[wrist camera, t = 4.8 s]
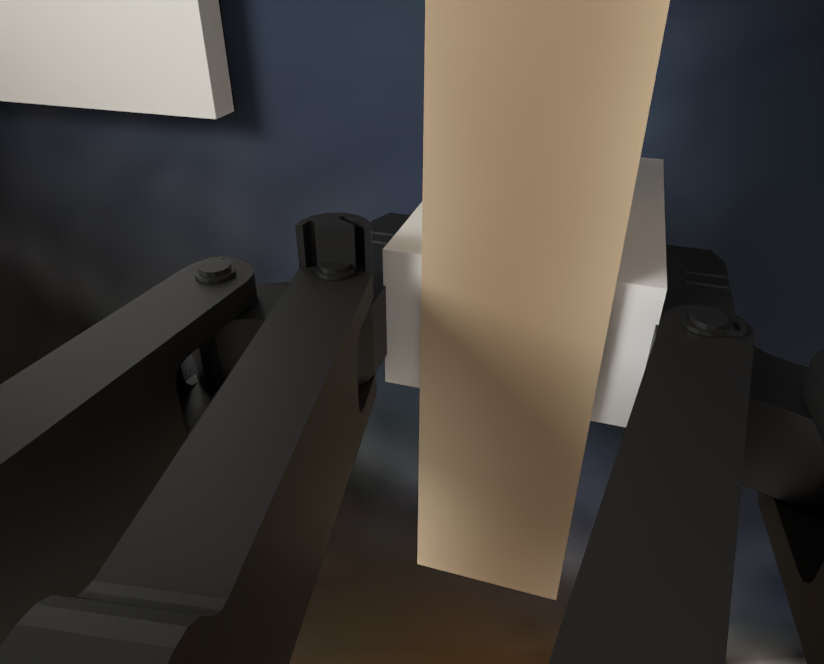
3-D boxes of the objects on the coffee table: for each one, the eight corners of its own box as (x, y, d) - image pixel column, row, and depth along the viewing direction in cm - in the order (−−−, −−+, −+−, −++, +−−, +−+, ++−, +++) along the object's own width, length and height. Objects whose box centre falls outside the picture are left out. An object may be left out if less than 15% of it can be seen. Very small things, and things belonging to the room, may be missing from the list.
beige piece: (318, 352, 21) (197, 506, 16) (257, -377, 13) (-68, -624, 7) (790, 439, 18) (855, 678, 12) (1165, -487, 9) (2021, -1175, 3)
